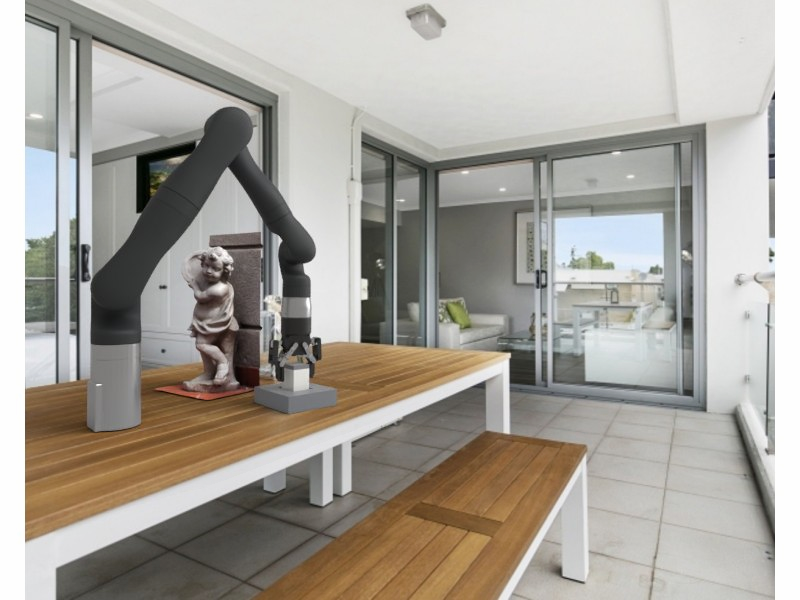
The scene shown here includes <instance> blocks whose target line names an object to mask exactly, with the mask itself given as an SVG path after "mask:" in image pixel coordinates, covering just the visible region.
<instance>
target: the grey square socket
mask: <svg viewBox="0 0 800 600" xmlns="http://www.w3.org/2000/svg"><path fill="white" fill-rule="evenodd" d="M253 391H254V392H253V393H254V394H253V395H254V396H253V397H254V398H253V403H255V404H259V405H260V406H264V407H266V408H270V409H273V410H276V411H279V412H281V413H284V414H287V415H291V414H292V415H293V414H296V413H302V412H307V411H312V410H318V409H322V408H328V407H333V406H338V389H337V388H333V387H329V386H325V385H322V384H317V383H313V382H311V381H309V389H307V390H301V391H294V392H292V391H289V390H285V389H282V382H279V383H273V384H272V383H271V384H265V385H260V386H256V387H254V390H253Z"/></svg>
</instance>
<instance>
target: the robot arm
mask: <svg viewBox="0 0 800 600" xmlns="http://www.w3.org/2000/svg"><path fill="white" fill-rule="evenodd" d="M253 126H254V125H253V122H252V119H251V117H250V116H249V114H248V113H247V112H246V111H245V110H244V109H242V108H240V107H238V106H224V107H222V108H219V109H217V110H216V111H215V112H214V113H212V114H211V115H210V116H209V117H207V119H206V120H205V123H204V126H203V136H202V137H201V139H200V141H199V142H198V143H197V145H196V147H195V148H194V149H193V151H191V153H190V154H189V155H188V156H187V157H186V158H185V159H184V160H183V161H181V163H180V164H179V165H177V167H175V168H174V170H173V171H171V172H170V173H169V175H168V176H167V177H166V178H165V179H164V180H163V181H162V182H161V184H160V186H159V187H158V188H157V189H156V191H155V192H154V194H153V195H152V196H151V197H150V199H149V201H148V202H147V204H146V205H145V207H144V208H143V210H142V212H141V214H140V215H139V217H138V219H137V221H136V222H135V225H134V226H133V229H132V230H131V232H130V234H129V236H128V237H127V239H126V240H125V242H124V243H123V244H122V246H120V248H119V249H118V250H117V251H116V252H115V253H114V255H113V256H112V257H111V258H110V259H109V260H108V261H107V262H106V263H105V264H104V265H103V266H102V267H101V268H100V269H99V270H98V271H97V272H96V273H95V274H94V275H93V277H92V279H91V281H90V284H89V285H90V286H89V287H90V288H89V289H90V290H89V291H90V332H89V333H90V335H89V336H90V337H89V340H90V341H89V342H90V368H89V369H90V370H89V371H90V372H89V373H90V375H89V376H90V377H89V378H90V379H88V380H87V381H86V385H87V386H86V387H87V390H86V392H87V393H86V395H87V396H86V399H87V400H86V426H87V427H88V428H89V429H90V430H92V431H93V432H94V433H97V432H108V431H109V432H111V431H121V430H126V429H130V428H135V427H137V426H139V425H140V424H141V423H142V421H141V420H142V419H141V418H142V314H141V313H142V310H141V309H142V306H141V305H142V295H143V292H144V290H145V288H146V286H147V284H148V282H149V280H150V278H151V276H152V274H153V273H154V271H155V270H156V268H157V266H158V265H159V263H160V261H161V260H162V259H163V258H164V257H165V255H167V253H168V252H169V251H170V250H171V249H172V248H173V247H174V245H175V244H176V243H177V242H178V241H179V240H180V239H181V237H182V236H183V235H184V234H185V232H186V231H187V230H188V229H189V227H190V226H191V225H192V223H193V222H194V221H195V219H196V217H198V215H199V213H200V212H201V210H202V209H203V207H204V205H205V204H206V202H207V201H208V199H209V197H210V196H211V194H212V192H213V191H214V190H215V188H216V186H217V184H218V182H219V180H220V179H221V177H222V176H223V174H224V172H225V171H226V170H227V168H228V169H229V170H230V172H231V174H232V175H233V176H234V178H235V179H236V180H237V181H238V183H239V184H240V186H241V187H242V189H243V191H244V192H245V193H246V195H247V196H248V198H249V200H250V201H251V203H252V204H253V206H254V208H255V209H256V211H257V213H258V214H259V216H260V218H261V220H262V221H263V223H264V225H265V226H266V228H267V229H268V230H269V232H270V233H272V234H274V235H277V236H279V238H280V239H281V241H280V243H279V246H278V251H277V259H278V264H279V270H280V274H281V280H282V287H281V288H282V289H281V292H282V294H281V295H282V296H281V297H282V299H281V304H280V306H281V307H280V334H281V339H271V338H270V339H269V342H268V344H269V345H268V358H267V363H268V364H269V365H273V366H274V367H275V374H274V375H275V379H276V380H277V382H279V383H282V382H284V367H283V366H284V364H285V363H287V362H288V360H290V358H291V357H296V356H302V357H303V358H304V359H305V361H306V363H305V364H309V379H312V378H314V376H315V373H316V371H315V370H316V369H315V367H316V363H317V362H318V361H322V358H323V353H322V338H321V337H318V336H313V337H312V336H311V334H312V309H313V308H312V300H311V297H312V296H311V293H312V292H311V291H312V290H311V289H312V285H311V284H312V283H311V282H312V281H311V278H310V276H309V274H306V272H305V268H304V266H305V265H304V264H308V263H310V262H312V261H313V260H314V259H315V257H316V253H317V246H316V243H315V241H314V239H313V236H311V234H310V233H309V231H308V230H306V228H305V227H304V226H303V224H301V222H300V221H299V220H297V218H296V217H295V216H294V214H293V212H292V210H291V208H290V207H289V205H288V203H287V202H286V200H285V198H284V196H283V195H282V193H281V192H280V191H279V189H278V188H277V187H276V186H275V184H274V183H273V182H272V181H271V179H269V178H268V176H267V175H266V174H265V173H264V172H263V170H262V169H261V168H260V167H259V166H258V164H257V163H256V161H255V159H254V158H253V156H252V154H251V152H250V150H249V148H248V145H249V144H250V142H251V140H252V137H253V134H254V127H253ZM310 347H311V348H310ZM280 348H281V350H280V352H279V349H280Z"/></svg>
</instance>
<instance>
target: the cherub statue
mask: <svg viewBox="0 0 800 600" xmlns="http://www.w3.org/2000/svg"><path fill="white" fill-rule="evenodd" d="M208 241H209V242H208V248H207V249H198V250H195V251H193V252H190V253H189V254H187V256H186V257H185V258H184V260H183V262H182V264H181V275H182V277H183V279H184V281H186V282H187V285H188V287H189V288H191V289H192V291H193V298H194V300H196V303H195V305H194V307H193V312H192V317H191V323H190V325H189V327H188V328H187V329H186V330H187V331H190V332H191V333H190V334H189V337H190V338H195V340H194V344H195V345H194V346H195V348H196V350H197V351H198V352H199V355H200V357H201V361H202V364H203V369H204V371H203V372H201V373H200V374H198V375H197V376H196V377H195V378H192V379H190V380H189V379H188V380H185V381H183V382H182V384H177V385H176V384H175V385H167V386H161V387H156V388H155V390H157V391H163V392H168V393H172V394H176V395H181V396H185V397H192V398H195V399H201V400H204V401H205V400H206V401H209V400H215V399H218V398H223V397H228V396H233V395H238V394H243V393H246V392H250V391H254V387H256V386H261V385H260V382H261V381H260V380H261V378H260V369H261V339H260V338H261V337H260V336H261V331H263V326H261V274H262V272H261V271H262V270H261V267H262V262H261V261H262V259H261V258H262V254H261V253H262V249H263V248H264V244H262V232H261V231H256V232H255V231H254V232H253V231H251V232H240V233H228V234H223V233H222V234H212V235H209V240H208Z"/></svg>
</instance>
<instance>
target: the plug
mask: <svg viewBox="0 0 800 600" xmlns="http://www.w3.org/2000/svg"><path fill="white" fill-rule="evenodd" d="M283 367H284V382H281V383H282V389H285V390H289V391H292V392H294V391H301V390H307V389H309V382H310V378H309V364H306V363H305V362H304V363H303V362H299V361H294V362H286V363H285V364H284V366H283Z"/></svg>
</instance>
